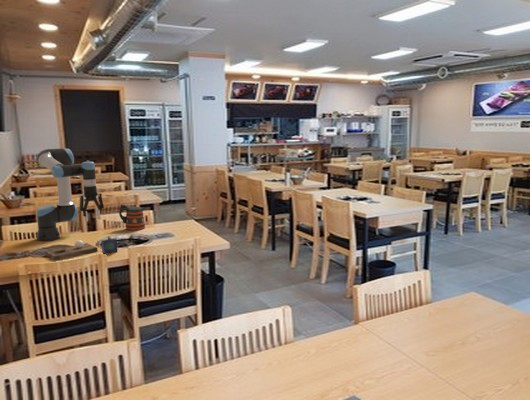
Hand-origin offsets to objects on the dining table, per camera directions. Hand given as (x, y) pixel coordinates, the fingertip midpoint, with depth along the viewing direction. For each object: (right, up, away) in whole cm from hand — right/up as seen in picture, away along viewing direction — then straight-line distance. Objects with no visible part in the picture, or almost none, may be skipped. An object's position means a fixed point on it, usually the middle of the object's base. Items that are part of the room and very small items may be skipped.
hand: (92, 220), depth 269 cm
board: (-10, -21, -7) cm, 24 cm away
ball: (-7, -15, -5) cm, 17 cm away
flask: (+14, -21, -7) cm, 26 cm away
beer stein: (+8, -10, +58) cm, 59 cm away
